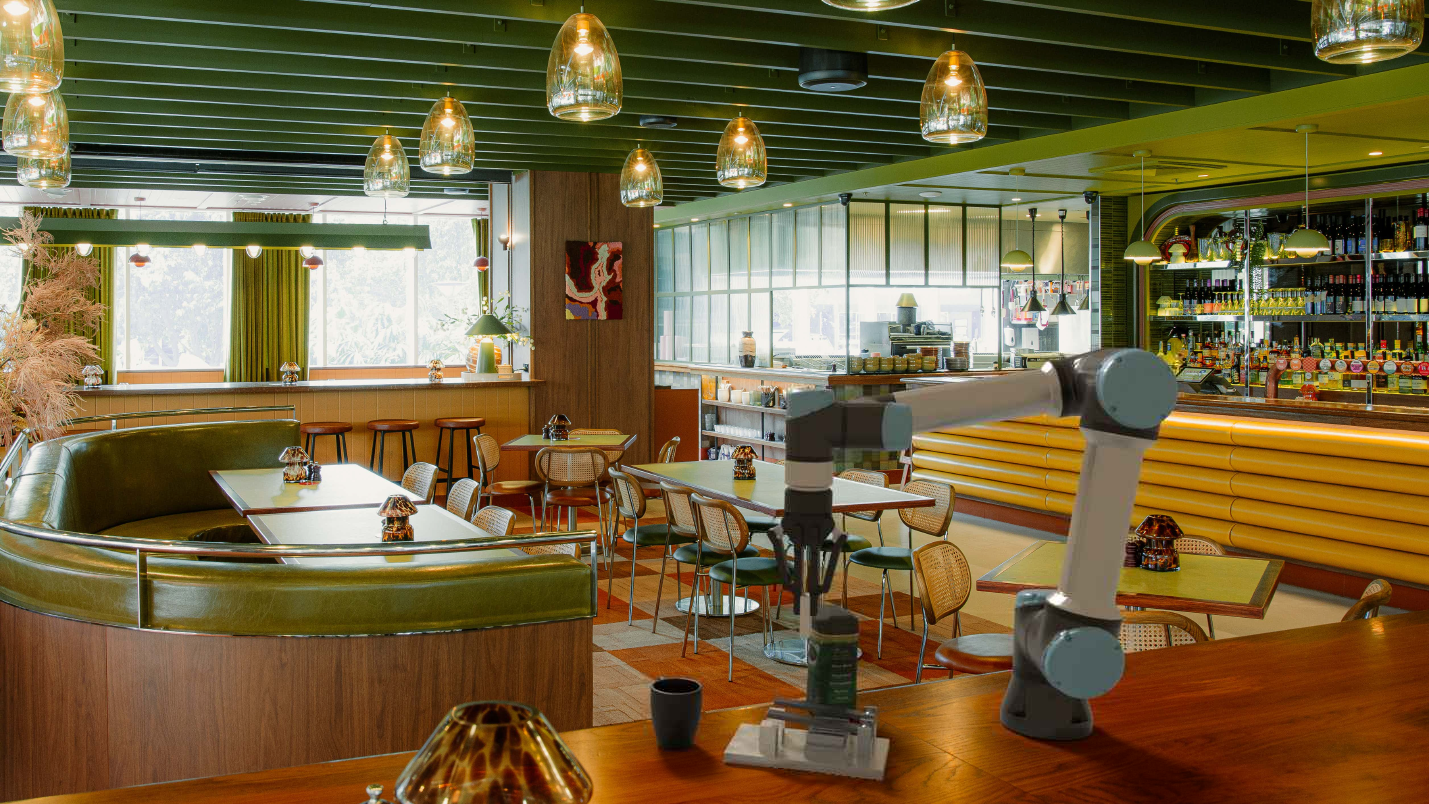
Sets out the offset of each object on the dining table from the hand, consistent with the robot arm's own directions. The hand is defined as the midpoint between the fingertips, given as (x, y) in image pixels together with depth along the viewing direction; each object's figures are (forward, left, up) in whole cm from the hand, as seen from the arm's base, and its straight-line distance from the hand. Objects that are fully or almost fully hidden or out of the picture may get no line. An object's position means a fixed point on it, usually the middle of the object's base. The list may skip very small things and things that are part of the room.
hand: (805, 635), depth 172 cm
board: (-1, +3, -18) cm, 18 cm away
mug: (+21, +3, -18) cm, 28 cm away
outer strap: (-3, +6, -12) cm, 14 cm away
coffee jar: (-2, -17, -18) cm, 25 cm away
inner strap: (-3, 0, -12) cm, 13 cm away
